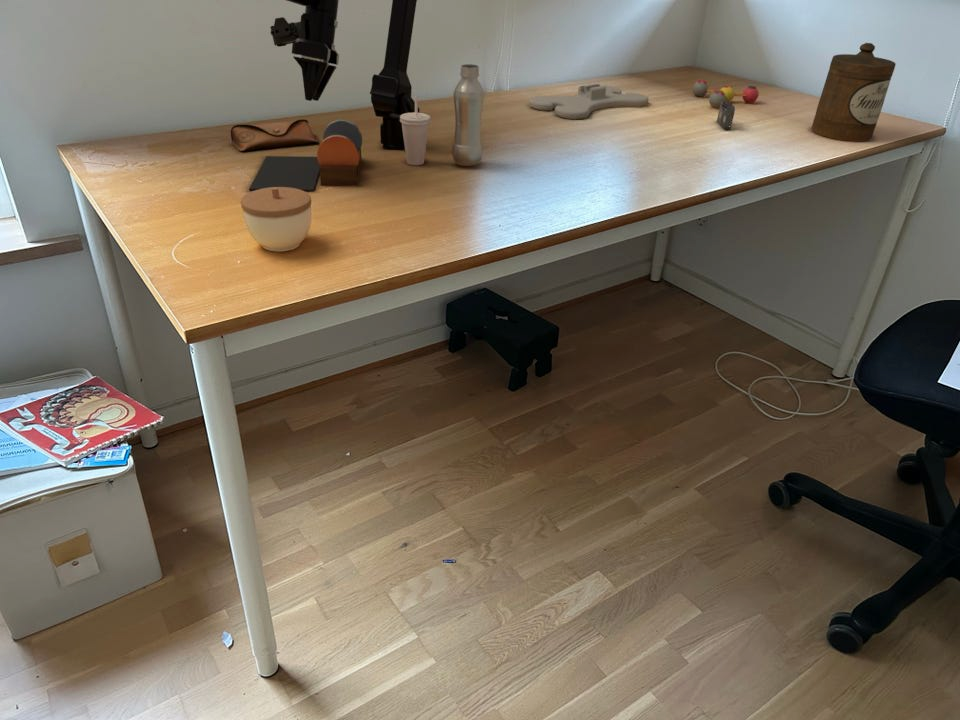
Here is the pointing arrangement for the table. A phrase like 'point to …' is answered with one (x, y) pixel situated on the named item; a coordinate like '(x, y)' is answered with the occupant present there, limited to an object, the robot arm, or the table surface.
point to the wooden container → (853, 95)
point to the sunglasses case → (272, 135)
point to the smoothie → (415, 135)
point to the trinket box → (277, 217)
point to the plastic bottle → (468, 117)
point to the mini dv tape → (725, 114)
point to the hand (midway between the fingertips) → (311, 100)
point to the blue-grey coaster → (344, 131)
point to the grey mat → (287, 173)
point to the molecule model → (724, 93)
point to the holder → (587, 101)
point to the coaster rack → (340, 174)
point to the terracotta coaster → (338, 151)
